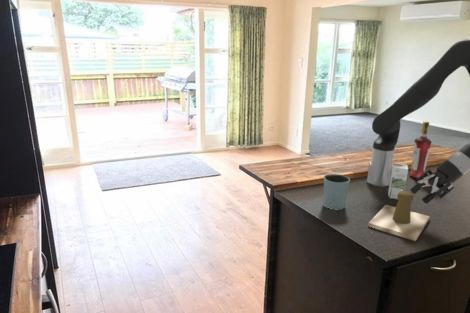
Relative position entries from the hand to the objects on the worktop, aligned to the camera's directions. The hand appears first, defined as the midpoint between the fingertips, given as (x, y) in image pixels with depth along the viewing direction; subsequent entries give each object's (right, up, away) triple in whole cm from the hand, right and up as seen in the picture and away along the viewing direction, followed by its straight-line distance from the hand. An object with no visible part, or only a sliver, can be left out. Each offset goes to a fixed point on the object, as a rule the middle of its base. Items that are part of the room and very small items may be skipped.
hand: (417, 196), depth 131 cm
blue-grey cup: (-26, -6, +17) cm, 31 cm away
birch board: (-5, -10, +3) cm, 12 cm away
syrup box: (+3, -3, +26) cm, 26 cm away
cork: (-5, -9, +2) cm, 10 cm away
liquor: (+25, +4, +50) cm, 56 cm away
